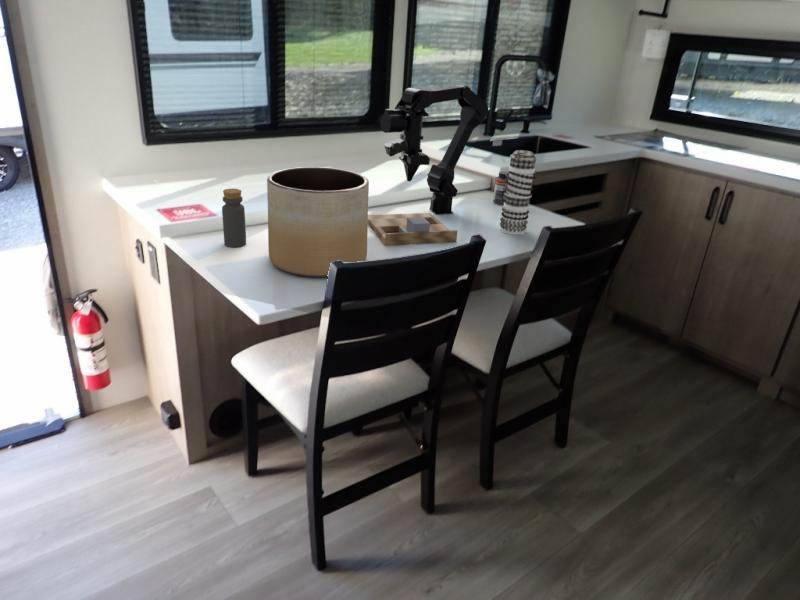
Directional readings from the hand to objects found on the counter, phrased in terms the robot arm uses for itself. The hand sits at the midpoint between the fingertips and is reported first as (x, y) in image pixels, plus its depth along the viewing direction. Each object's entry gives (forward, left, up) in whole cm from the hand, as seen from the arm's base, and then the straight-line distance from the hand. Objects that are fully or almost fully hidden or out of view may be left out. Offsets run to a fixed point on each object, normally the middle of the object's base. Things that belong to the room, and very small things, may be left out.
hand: (408, 181), depth 189 cm
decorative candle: (-30, +18, -12) cm, 37 cm away
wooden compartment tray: (+4, +14, -12) cm, 19 cm away
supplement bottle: (-41, -12, -12) cm, 44 cm away
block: (+4, +22, -10) cm, 24 cm away
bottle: (+56, +18, -12) cm, 60 cm away
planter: (+36, +34, -12) cm, 51 cm away
